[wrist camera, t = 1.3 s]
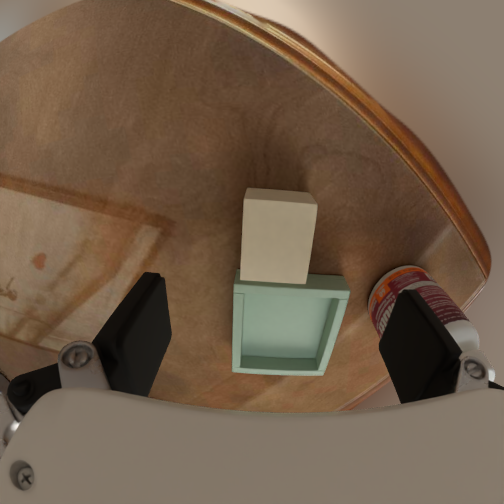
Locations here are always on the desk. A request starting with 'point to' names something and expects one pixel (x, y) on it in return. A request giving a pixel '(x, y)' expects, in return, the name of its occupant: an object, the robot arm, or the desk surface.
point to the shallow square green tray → (286, 324)
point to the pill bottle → (435, 298)
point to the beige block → (277, 235)
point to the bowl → (3, 384)
